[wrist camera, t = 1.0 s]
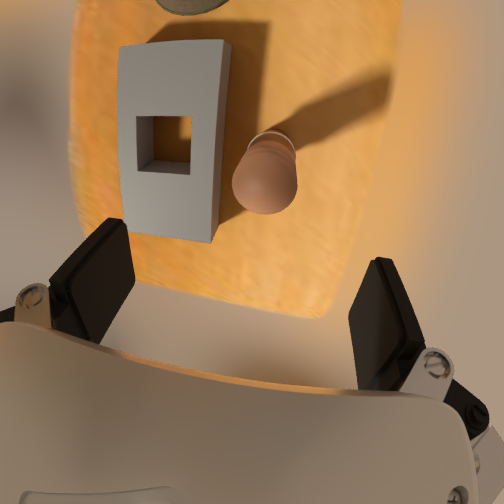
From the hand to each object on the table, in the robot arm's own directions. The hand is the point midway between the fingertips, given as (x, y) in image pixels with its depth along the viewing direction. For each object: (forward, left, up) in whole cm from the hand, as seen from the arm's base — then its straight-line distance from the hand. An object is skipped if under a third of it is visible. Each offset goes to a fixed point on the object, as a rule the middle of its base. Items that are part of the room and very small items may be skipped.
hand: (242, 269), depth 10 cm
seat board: (0, -10, -20) cm, 22 cm away
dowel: (0, 0, -20) cm, 20 cm away
